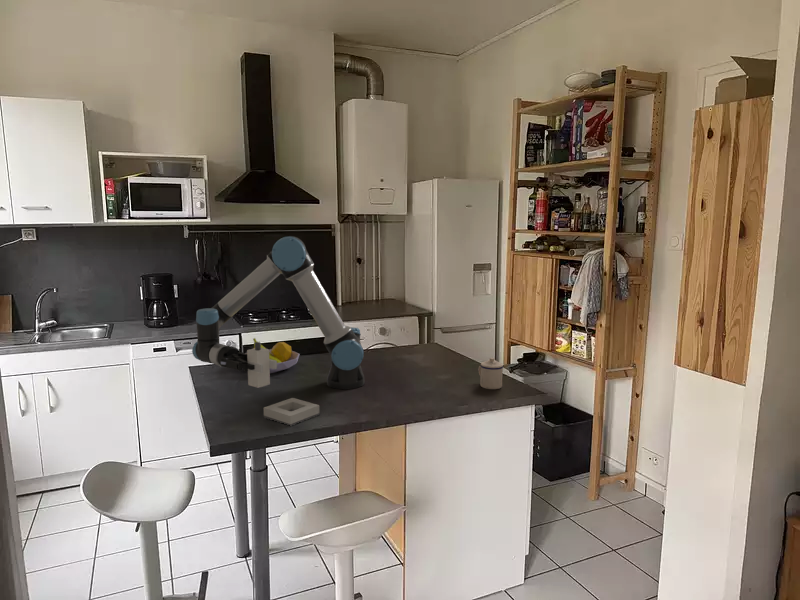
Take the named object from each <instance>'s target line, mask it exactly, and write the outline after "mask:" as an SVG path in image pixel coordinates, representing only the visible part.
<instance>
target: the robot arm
mask: <svg viewBox="0 0 800 600" xmlns="http://www.w3.org/2000/svg"><path fill="white" fill-rule="evenodd" d="M314 266H315V263H314V261H313V259H312V258H311V256H310V254H309V252H308V250H307V248H306V245H305V243H304V241H303V240H302V239H301V238H299V237H297V236H294V235H289V236H288V235H287V236H284V237H282V238H280V239H278V240H277V241H276V242H275V243H274V244H273V246H272V250H271V251H270V252H269V253H268V254H266V259H265V260H264V261H263V262H262V263H261V264H259V265H258V266H257V267H256V268H255V269H254V270H253V271H252V272H250V273H249V274H248V275H247V276H246V277H245V278H244V279H243V280H241V282H239V283H238V284H236V286H235V287H234V288H232V290H231V291H229V292H228V293H227V294H226V295H225V296H224V297H222V298H221V299H220V300H219V301H218V302H217V303H216V304H214V306H212V307H211V308H209V307H208V308H200V309H198V310H197V311H196V318H195V322H196V335H197V337H196V338H197V339H196V340H197V341H195V343H194V344H193V347H192V349H191V352H192V353H191V354H192V356H193V357H194V358H195V359H196V360H198V361H201V362H203V363H208V364H212V365H216V366H219V367H220V368H226V369H232V370H234V371H239V372H240V371H244V372H245V373H248V369H249V370H252V371H256V372H259V373H263V364H259V363H255V362H251V361H249V362H247V354H245V353H246V352H245V353H244V352H241V351H240V350H239V349H238V347H235V346H231V345H227V344H222V343H220V329H221V327H222V326H223V325H224V324H226V323H227V322H228V321H229V320H231V318H232V317H234V315H235V314H237V312H239V311H240V310H241V309H242V308H243V307H245V306H246V305H247V304H248V303H249V302H251V300H252V299H254V298H255V297H256V296H258V294H259V293H261V292H262V291H263V290H264V289H266V287H267V286H268V285H270V283H271V284H272V282H273V281H274V280H275V279H277V278H278V277H279V276H280V275H283V276H284V278H285V280H287V281H290V282H292V284H293V285H294V287H295V288H296V291H297V292H298V294H299V296H300V297H301V299H302V300H303V302H304V304H305V306H306V308H307V309H308V311H309V313H310V315H311V316H312V318H313V319H314V320H315V321H314V322H315V323H316V324H317V326H318V328H319V329H320V331H321V333H322V335H323V337H324V340H323V344H324V346H325V348H326V350H327V351H328V353H329V355H330V369H329V372H328V373H327V377H326V385H327V387H330V388H333V389H336V390H338V389H340V390H350V389H352V390H353V389H357V388H360V387H362V386H364V385H365V375H364V371H363V370H362V366H361V363H362V361H363V359H364V354H365V353H364V351H365V350H364V348H363V346H362V344H361V330H360V328H358V327H351V326H347V325H345V323H344V322H343V320H342V317H341V316H340V314H339V313H338V311H337V309H336V308H335V306H334V304H333V302H332V300H331V298H330V297H329V295H328V294H327V292H326V290H325V289H324V286H323V285H322V284H321V282H320V280H319V278H318V277H317V275H316V273H315V271H314ZM269 368H272V369H277V361H275V360H271V359H269Z"/></svg>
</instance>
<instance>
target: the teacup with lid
mask: <svg viewBox="0 0 800 600" xmlns="http://www.w3.org/2000/svg"><path fill="white" fill-rule="evenodd" d="M503 369H504V365H503V363H501V362H499V361H498V360H496V359H495V358H494V357H489V358H488V360H485V361H482V362H481V363H480V365H479V366H478V369H477V371H478V374H479V376H480V378H479V379H480V387H482V388H483V389H487V390H498V389H501V388H502V387H503Z"/></svg>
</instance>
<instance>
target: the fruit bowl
mask: <svg viewBox="0 0 800 600" xmlns="http://www.w3.org/2000/svg"><path fill="white" fill-rule="evenodd" d="M252 340H253V348H252V349H254V348H255V342H258V341H257V339H256V337H254V338H252ZM261 348H265V349H267V347H265V346H264V345H263V344H261ZM245 354H247V352H245ZM300 354H301V353H298V352H296V351H293V350H292V346H291V345H290V344H288V343H286V341H285V342H284V341H280V342H277V343H275V345H273V347H272V348H270V349H269V359H271V360H275V361H277V369H272V368H270V374H275V373H277V372H281V371H283V370H288V369H289V368H291V367H293V366H295V365H296V364H297V363H298V360H299V358H300V356H301V355H300Z"/></svg>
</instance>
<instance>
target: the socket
mask: <svg viewBox="0 0 800 600" xmlns="http://www.w3.org/2000/svg"><path fill="white" fill-rule="evenodd" d="M317 415H319V416H320V405H319V404H316V403H312V402H309V401H307V400H306V401H305V400H302V399H298V398H295V397H291V398H288V399H286V400H285V399H284V400H282V401H279V402H276V403H272V404H270V405H268V406H264V407H263V418H264V419H266V418H267V420H269V419H270V421H272V420H274V421H273V422H275V421H277V422H276V423H278V422H280V423H279V424H281V423H284V424H287V425H290V426H291V425H294V424H296V423H299V422H301V423H303V422H302V421H304V420H306V419H309V418H311V417H314V416H316V417H318V416H317ZM314 418H315V417H314ZM311 419H312V418H311ZM309 420H310V419H309ZM306 421H307V420H306ZM304 422H305V421H304ZM284 424H283V425H284ZM299 424H300V423H299ZM287 425H286V426H287ZM296 425H297V424H296ZM290 426H289V427H290ZM294 426H295V425H294ZM291 427H292V426H291Z"/></svg>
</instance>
